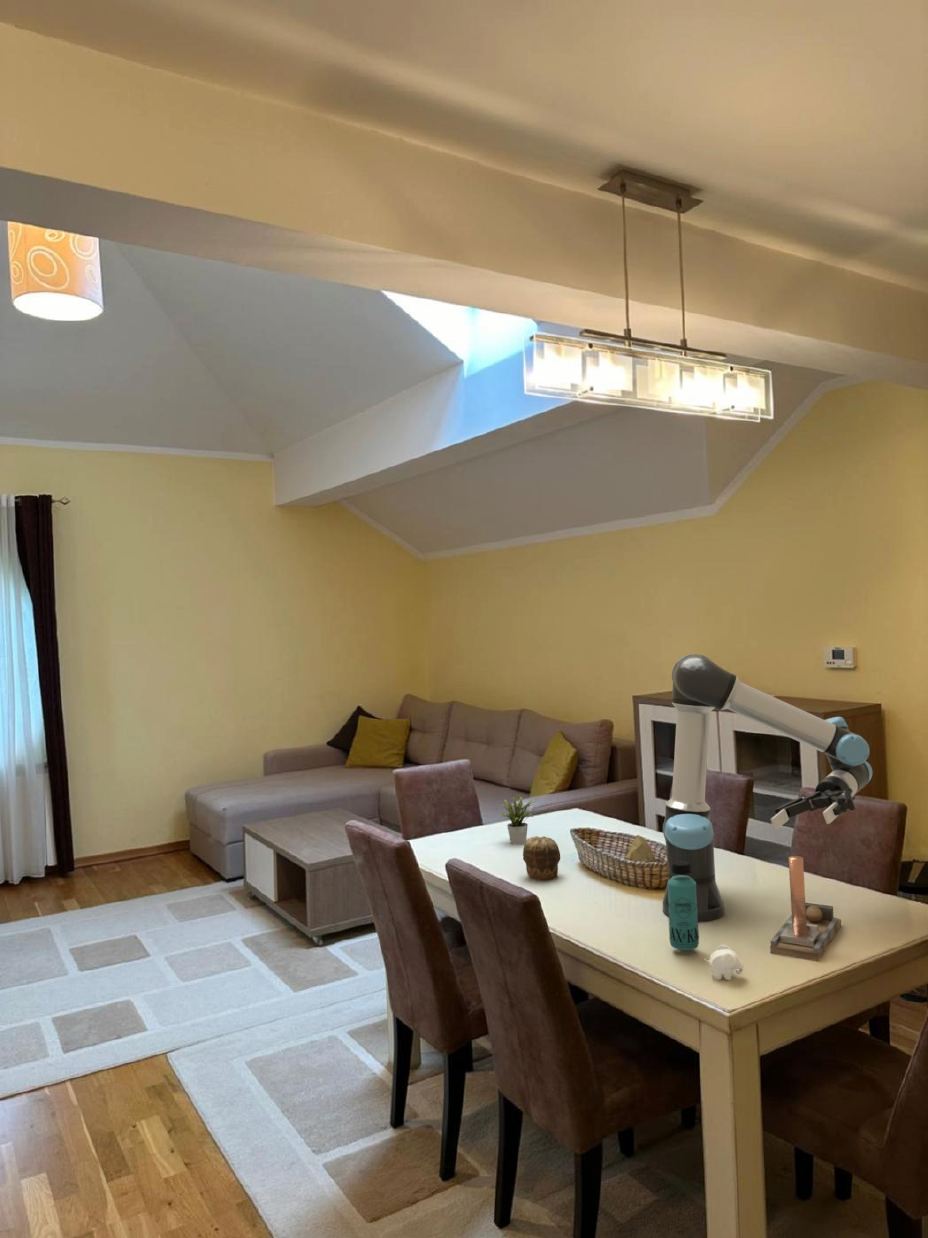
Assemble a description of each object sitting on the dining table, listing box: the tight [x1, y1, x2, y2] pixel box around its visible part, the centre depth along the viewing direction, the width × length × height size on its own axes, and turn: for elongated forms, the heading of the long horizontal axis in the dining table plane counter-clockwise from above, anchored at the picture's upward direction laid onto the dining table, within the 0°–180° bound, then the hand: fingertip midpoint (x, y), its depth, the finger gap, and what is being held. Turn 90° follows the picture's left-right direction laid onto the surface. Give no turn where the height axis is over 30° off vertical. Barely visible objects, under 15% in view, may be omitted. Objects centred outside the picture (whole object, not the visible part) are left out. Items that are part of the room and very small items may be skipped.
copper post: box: [780, 855, 820, 947], centre depth 191 cm, size 6×7×18 cm
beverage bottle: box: [666, 861, 700, 951], centre depth 192 cm, size 6×7×20 cm
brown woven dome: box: [522, 835, 561, 882], centre depth 253 cm, size 11×11×12 cm
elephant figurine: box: [704, 944, 744, 981], centre depth 177 cm, size 7×8×6 cm
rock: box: [625, 834, 657, 863], centre depth 255 cm, size 11×9×10 cm
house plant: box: [499, 795, 537, 845], centre depth 294 cm, size 14×14×16 cm
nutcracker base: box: [769, 902, 842, 962], centre depth 196 cm, size 24×10×5 cm, turn 145°
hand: (799, 821), depth 202 cm, fingers open, 13 cm apart
